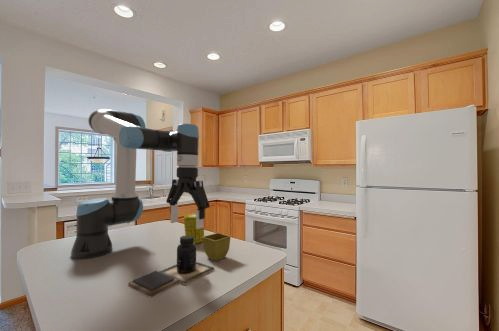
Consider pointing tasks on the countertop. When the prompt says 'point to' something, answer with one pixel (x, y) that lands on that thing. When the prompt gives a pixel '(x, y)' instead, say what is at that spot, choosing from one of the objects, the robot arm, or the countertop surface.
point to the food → (193, 228)
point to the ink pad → (153, 280)
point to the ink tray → (154, 292)
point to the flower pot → (216, 245)
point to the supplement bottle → (186, 255)
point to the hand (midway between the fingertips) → (186, 225)
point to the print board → (187, 278)
